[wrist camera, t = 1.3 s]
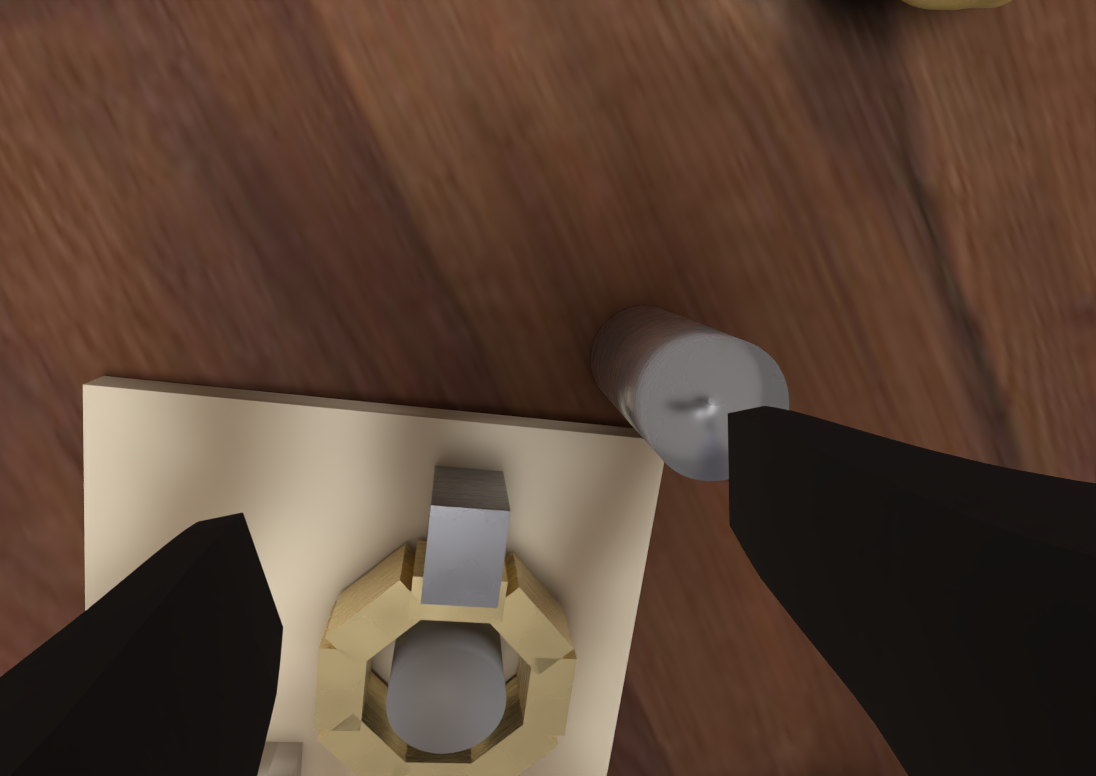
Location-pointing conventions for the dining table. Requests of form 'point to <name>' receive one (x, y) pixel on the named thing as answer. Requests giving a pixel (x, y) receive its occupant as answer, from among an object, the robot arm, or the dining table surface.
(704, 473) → the pin
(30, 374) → the dining table surface
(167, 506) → the board
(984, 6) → the cupcake
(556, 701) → the ring nut
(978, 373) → the dining table surface
